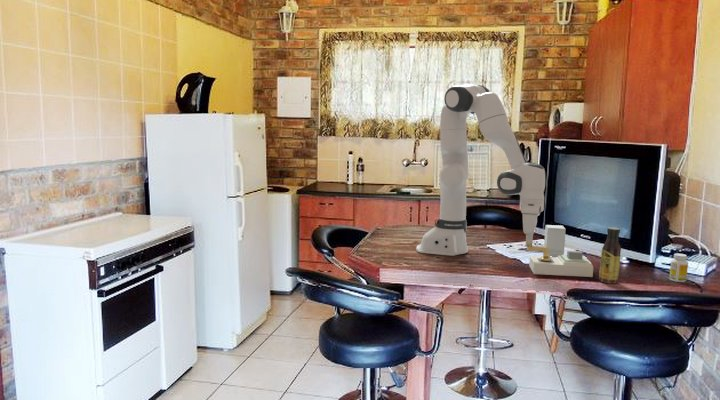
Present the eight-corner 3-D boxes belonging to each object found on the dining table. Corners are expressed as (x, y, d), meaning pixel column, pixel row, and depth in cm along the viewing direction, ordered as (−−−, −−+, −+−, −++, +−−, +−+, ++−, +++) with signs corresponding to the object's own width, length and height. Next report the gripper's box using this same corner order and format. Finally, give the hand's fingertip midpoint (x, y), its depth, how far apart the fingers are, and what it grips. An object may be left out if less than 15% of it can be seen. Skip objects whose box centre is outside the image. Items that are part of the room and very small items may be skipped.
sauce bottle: (595, 279, 199) (599, 226, 196) (611, 279, 200) (616, 225, 196) (604, 284, 193) (609, 229, 190) (621, 284, 193) (626, 229, 190)
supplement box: (564, 258, 229) (566, 228, 227) (545, 257, 230) (547, 227, 228) (561, 254, 236) (563, 225, 234) (543, 252, 237) (545, 224, 235)
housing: (533, 273, 205) (534, 261, 204) (529, 266, 216) (530, 253, 215) (592, 276, 202) (593, 263, 201) (584, 268, 213) (585, 256, 212)
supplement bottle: (668, 280, 199) (670, 254, 197) (670, 277, 203) (673, 252, 201) (685, 283, 195) (687, 257, 194) (687, 280, 200) (689, 254, 198)
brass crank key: (525, 260, 208) (526, 234, 207) (524, 257, 212) (525, 232, 211) (551, 261, 207) (553, 235, 205) (550, 259, 211) (551, 233, 209)
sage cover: (565, 264, 204) (566, 253, 204) (561, 258, 212) (561, 248, 211) (588, 265, 203) (588, 254, 202) (582, 259, 211) (583, 249, 210)
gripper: (525, 201, 218) (523, 235, 220) (521, 209, 199) (519, 246, 202) (541, 202, 216) (539, 236, 218) (539, 210, 197) (536, 247, 199)
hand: (529, 241), depth 210 cm, fingers open, 4 cm apart
